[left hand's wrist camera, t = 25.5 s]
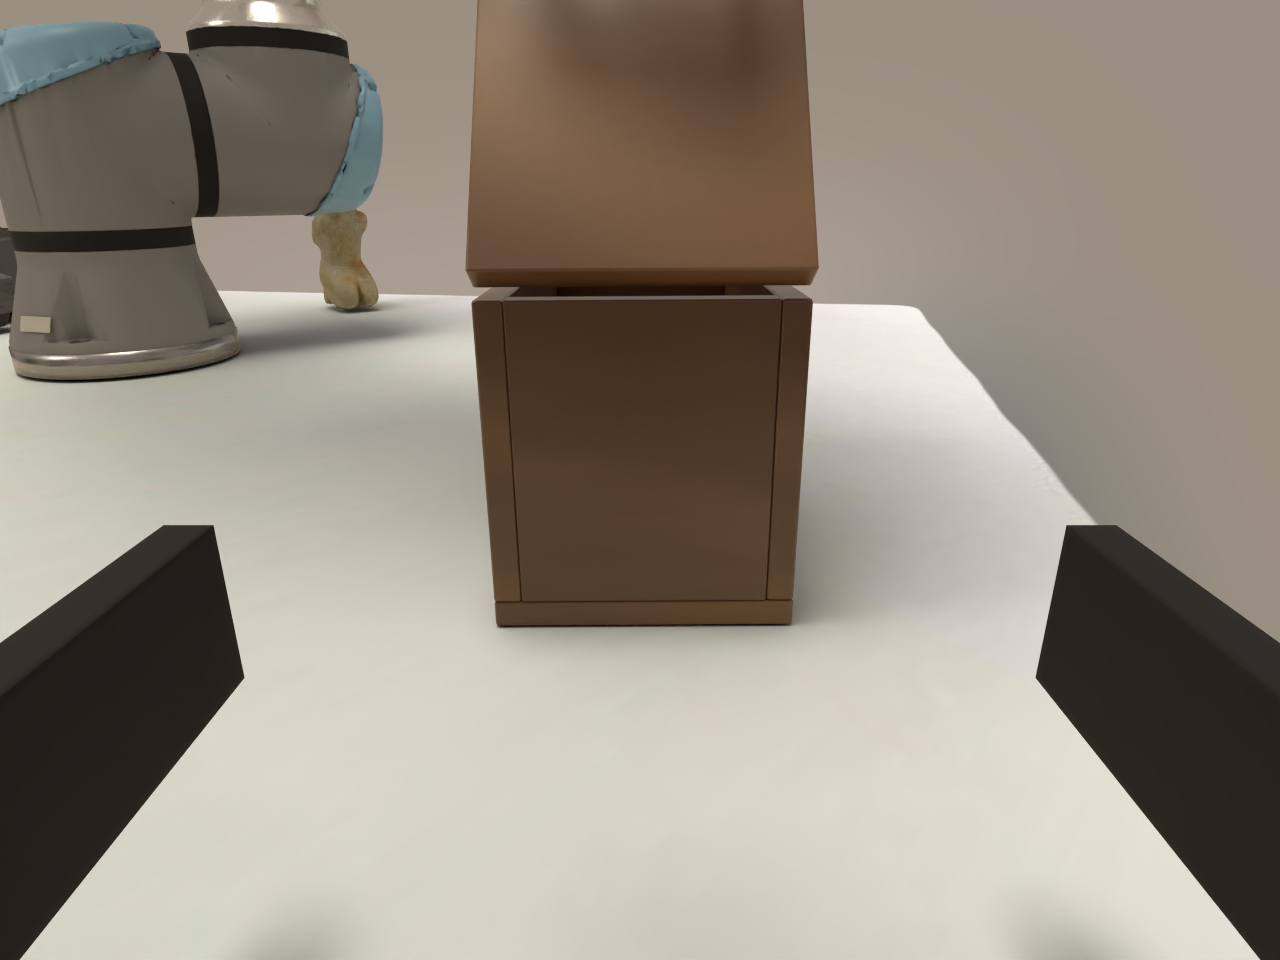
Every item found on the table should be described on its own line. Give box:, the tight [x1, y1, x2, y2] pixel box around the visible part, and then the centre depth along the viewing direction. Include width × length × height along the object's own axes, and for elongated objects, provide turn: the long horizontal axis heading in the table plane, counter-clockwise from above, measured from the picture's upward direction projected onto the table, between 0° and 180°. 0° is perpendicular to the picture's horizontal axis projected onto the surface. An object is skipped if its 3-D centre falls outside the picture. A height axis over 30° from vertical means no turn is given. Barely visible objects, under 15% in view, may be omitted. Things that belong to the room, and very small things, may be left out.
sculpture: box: [312, 208, 379, 309], centre depth 87 cm, size 6×7×15 cm
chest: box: [472, 285, 813, 625], centre depth 31 cm, size 16×9×10 cm, turn 0°
